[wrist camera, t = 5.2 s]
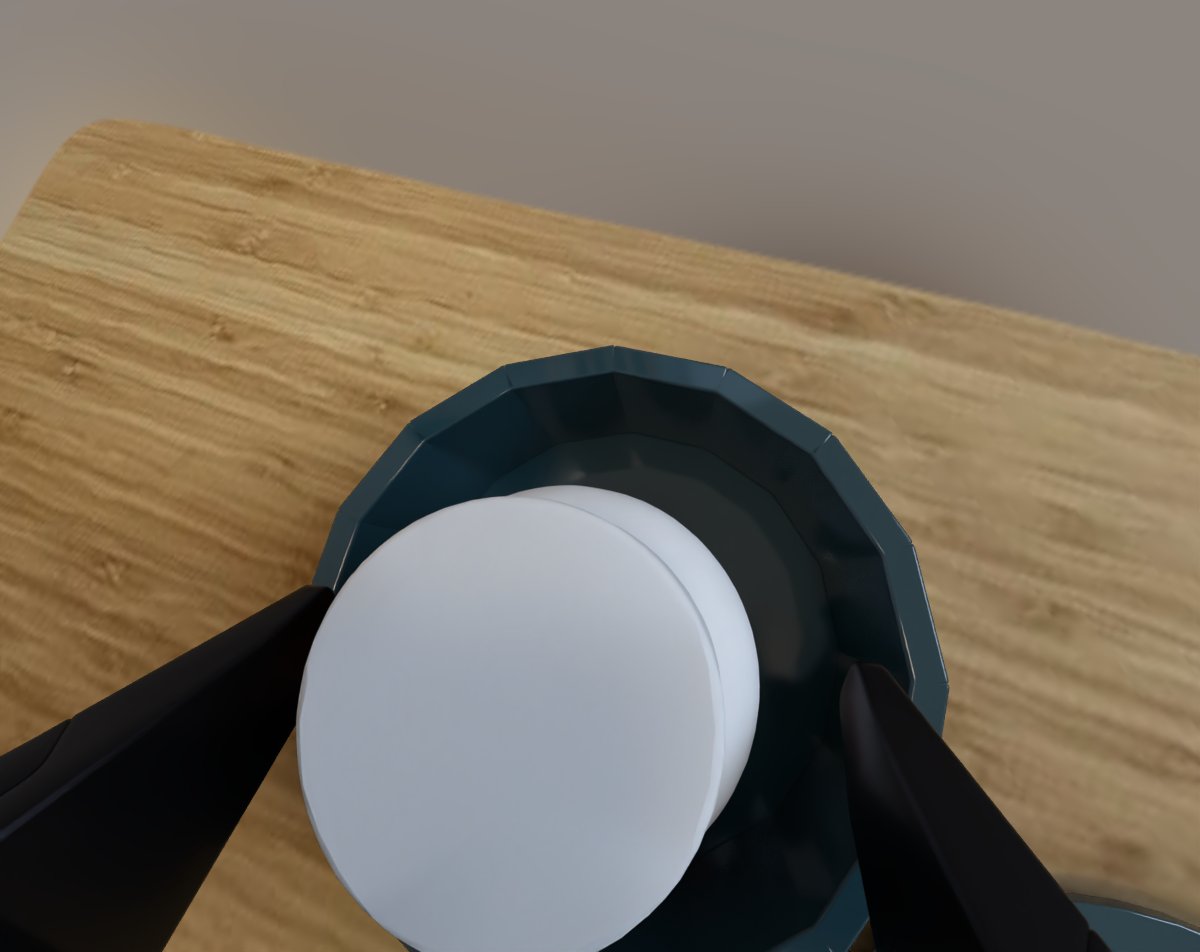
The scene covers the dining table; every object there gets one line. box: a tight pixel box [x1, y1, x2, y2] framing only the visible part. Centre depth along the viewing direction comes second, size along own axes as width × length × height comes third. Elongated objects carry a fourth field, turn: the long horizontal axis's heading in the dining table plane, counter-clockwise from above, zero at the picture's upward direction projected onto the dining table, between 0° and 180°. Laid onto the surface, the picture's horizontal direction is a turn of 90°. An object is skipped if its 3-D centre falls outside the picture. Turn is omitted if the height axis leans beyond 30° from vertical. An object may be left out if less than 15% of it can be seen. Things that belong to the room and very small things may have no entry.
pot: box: [311, 345, 949, 952], centre depth 14 cm, size 14×14×5 cm
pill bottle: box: [296, 485, 760, 952], centre depth 11 cm, size 6×6×11 cm
